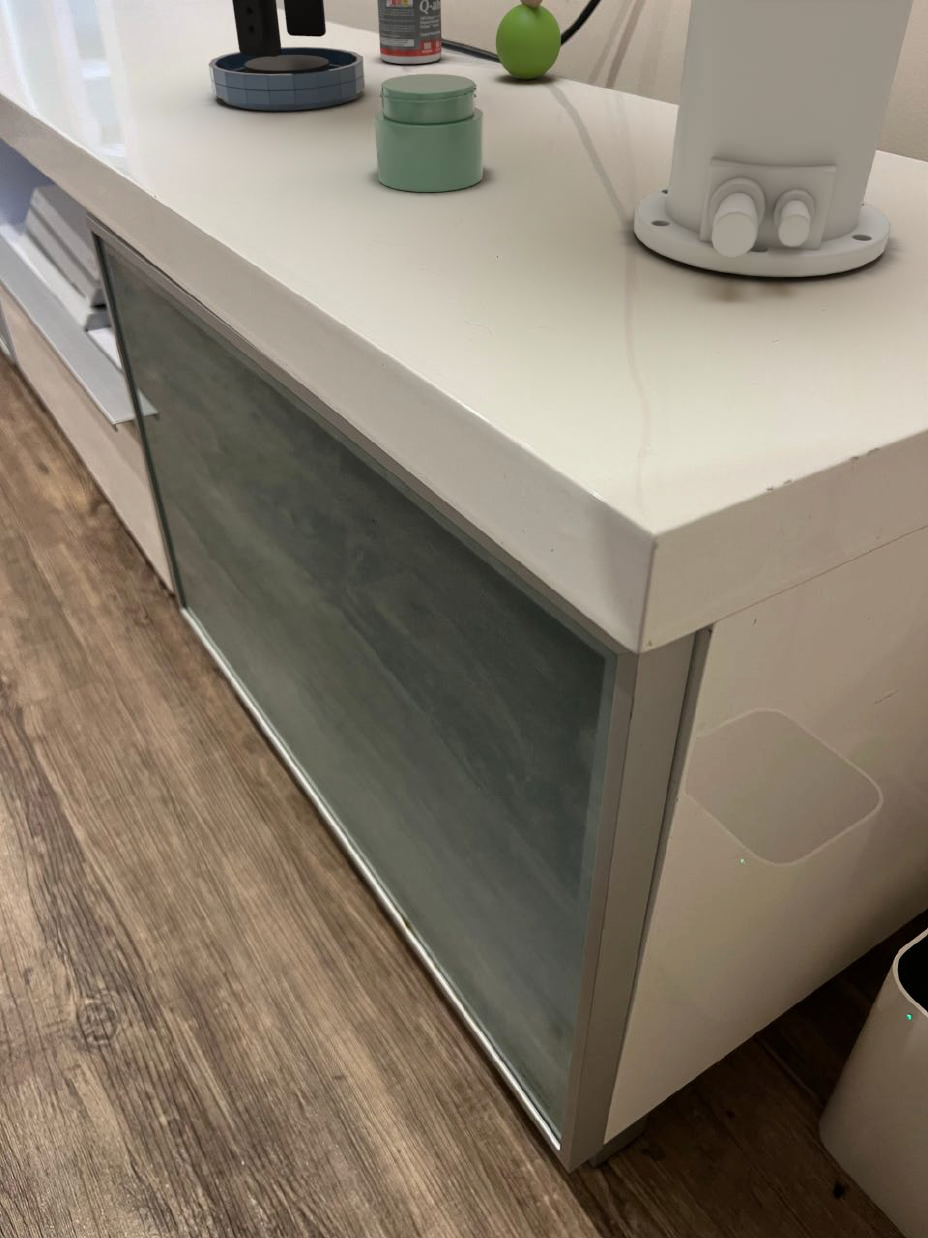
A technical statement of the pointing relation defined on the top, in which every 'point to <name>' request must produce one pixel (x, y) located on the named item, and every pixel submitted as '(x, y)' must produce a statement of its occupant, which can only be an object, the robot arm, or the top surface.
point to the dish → (288, 81)
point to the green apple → (528, 40)
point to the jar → (429, 133)
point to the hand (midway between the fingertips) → (284, 44)
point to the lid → (286, 64)
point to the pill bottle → (410, 30)
